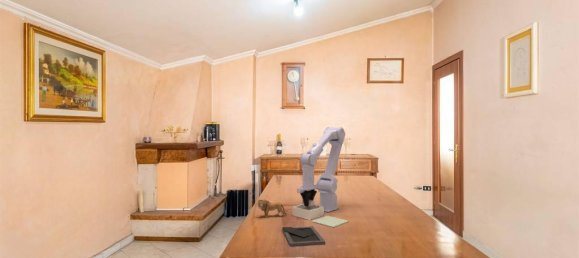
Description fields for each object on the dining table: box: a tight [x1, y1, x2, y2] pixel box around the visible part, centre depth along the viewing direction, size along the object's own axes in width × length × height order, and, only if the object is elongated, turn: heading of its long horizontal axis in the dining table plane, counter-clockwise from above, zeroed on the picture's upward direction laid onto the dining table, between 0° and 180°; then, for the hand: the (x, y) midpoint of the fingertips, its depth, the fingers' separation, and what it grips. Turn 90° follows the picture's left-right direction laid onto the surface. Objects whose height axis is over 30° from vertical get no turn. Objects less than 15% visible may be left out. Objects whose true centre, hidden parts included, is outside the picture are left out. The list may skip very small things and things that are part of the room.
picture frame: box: [281, 225, 326, 247], centre depth 126 cm, size 13×2×18 cm
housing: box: [291, 203, 325, 221], centre depth 156 cm, size 11×11×4 cm
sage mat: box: [311, 215, 349, 228], centre depth 146 cm, size 12×12×1 cm
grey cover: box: [297, 199, 320, 211], centre depth 156 cm, size 9×9×4 cm
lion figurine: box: [257, 198, 287, 218], centre depth 154 cm, size 15×5×9 cm, turn 109°
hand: (308, 205), depth 156 cm, fingers closed on grey cover, 2 cm apart
